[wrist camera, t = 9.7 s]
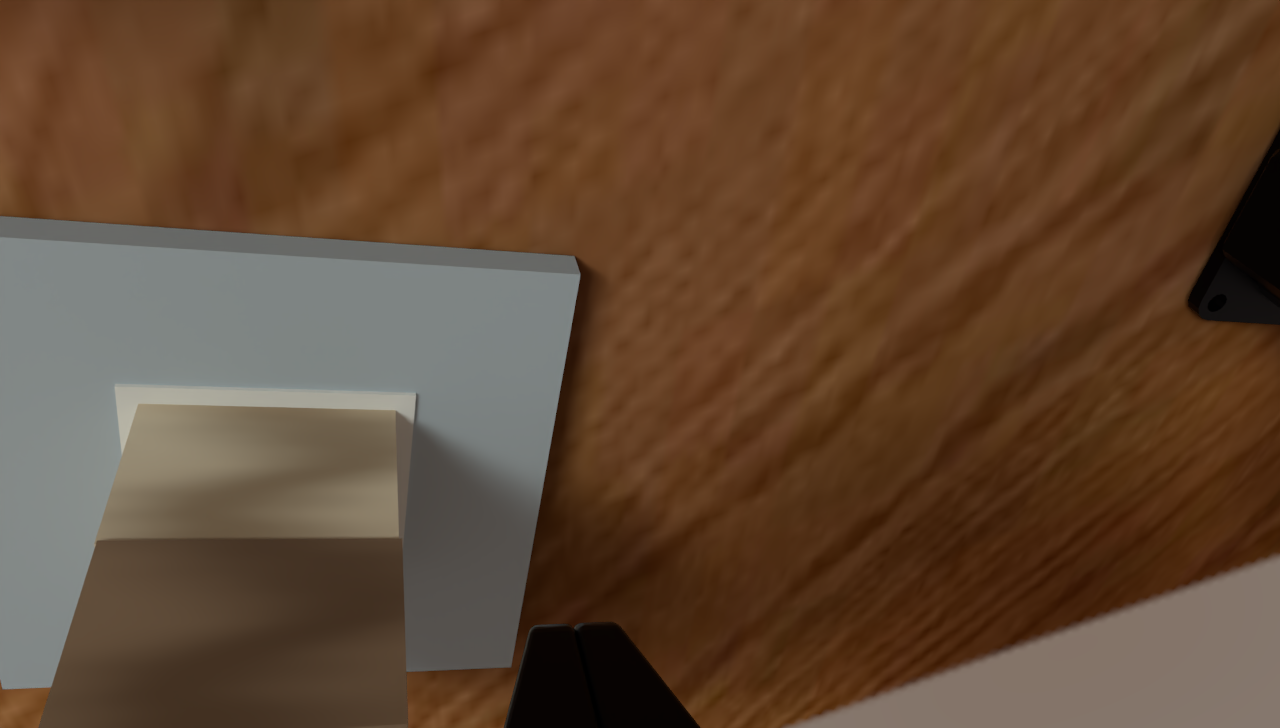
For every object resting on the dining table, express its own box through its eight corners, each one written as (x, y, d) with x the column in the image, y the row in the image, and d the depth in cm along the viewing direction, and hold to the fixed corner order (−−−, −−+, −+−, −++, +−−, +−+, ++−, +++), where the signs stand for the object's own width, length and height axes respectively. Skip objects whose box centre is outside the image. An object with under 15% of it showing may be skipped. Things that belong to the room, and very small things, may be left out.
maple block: (395, 410, 22) (398, 541, 19) (383, 578, 24) (383, 718, 21) (138, 403, 20) (93, 544, 17) (154, 582, 23) (118, 733, 20)
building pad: (574, 256, 22) (581, 276, 21) (508, 643, 28) (511, 670, 27) (-81, 210, 18) (-100, 233, 18) (12, 662, 25) (1, 693, 24)
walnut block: (402, 538, 19) (407, 724, 15) (387, 716, 21) (388, 906, 18) (96, 540, 17) (32, 745, 14) (121, 730, 20) (72, 939, 17)
